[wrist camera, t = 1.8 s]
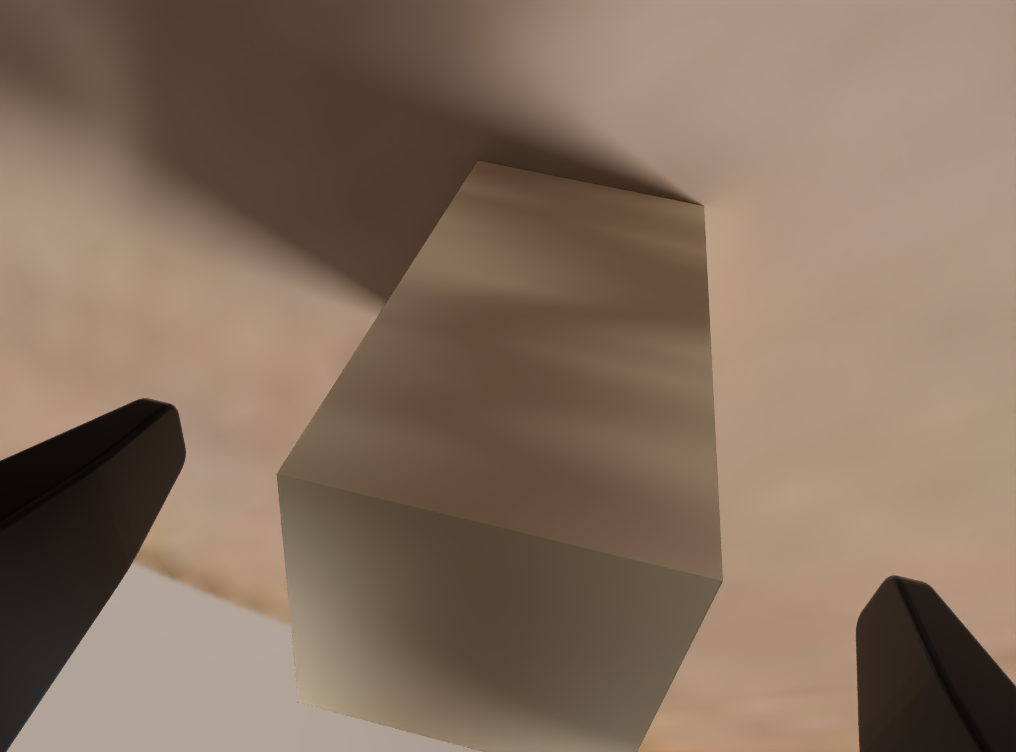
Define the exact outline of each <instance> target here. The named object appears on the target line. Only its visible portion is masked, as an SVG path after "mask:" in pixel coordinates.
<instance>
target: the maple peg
mask: <svg viewBox="0 0 1016 752" xmlns="http://www.w3.org/2000/svg"><path fill="white" fill-rule="evenodd" d="M277 482H278V493H279V503H280V514H281V525H282V536H283V547H284V558H285V569H286V579H287V590H288V601H289V612H290V623H291V634H292V644H293V655H294V666H295V677H296V688H297V699H298V703H301V704H305V705H309V706H313V707H316V708H320V709H324V710H328V711H332V712H335V713H339V714H343V715H347V716H351V717H354V718H358V719H362V720H366V721H370V722H373V723H377V724H381V725H385V726H389V727H392V728H396V729H400V730H403V731H407V732H411V733H415V734H418V735H422V736H426V737H430V738H434V739H437V740H441V741H445V742H449V743H453V744H456V745H460V746H464V747H468V748H471V749H476V750H479V751H483V752H637V751H638V749H639V747H640V745H641V743H642V741H643V739H644V737H645V735H646V733H647V731H648V729H649V727H650V725H651V723H652V721H653V719H654V717H655V715H656V713H657V711H658V709H659V707H660V705H661V703H662V701H663V699H664V697H665V695H666V693H667V691H668V689H669V687H670V685H671V683H672V681H673V679H674V677H675V675H676V673H677V671H678V669H679V667H680V665H681V663H682V661H683V659H684V657H685V655H686V653H687V651H688V649H689V647H690V645H691V643H692V641H693V639H694V637H695V635H696V633H697V631H698V629H699V627H700V625H701V623H702V621H703V619H704V617H705V615H706V614H707V612H708V610H709V608H710V606H711V604H712V602H713V600H714V598H715V596H716V594H717V592H718V590H719V588H720V586H721V584H722V582H723V575H722V555H721V535H720V515H719V495H718V475H717V455H716V435H715V415H714V396H713V376H712V356H711V336H710V316H709V296H708V276H707V256H706V236H705V216H704V206H701V205H696V204H692V203H687V202H682V201H677V200H672V199H667V198H662V197H657V196H652V195H647V194H642V193H637V192H632V191H627V190H622V189H617V188H612V187H607V186H602V185H597V184H592V183H587V182H583V181H578V180H573V179H568V178H563V177H558V176H553V175H548V174H543V173H538V172H533V171H528V170H523V169H518V168H513V167H508V166H503V165H498V164H493V163H488V162H483V161H479V160H478V161H477V163H476V164H475V166H474V167H473V169H472V170H471V172H470V174H469V175H468V177H467V178H466V180H465V181H464V183H463V184H462V186H461V188H460V189H459V191H458V192H457V194H456V195H455V197H454V198H453V200H452V202H451V203H450V205H449V206H448V208H447V209H446V211H445V212H444V214H443V216H442V217H441V219H440V220H439V222H438V223H437V225H436V226H435V228H434V230H433V231H432V233H431V234H430V236H429V237H428V239H427V241H426V242H425V244H424V245H423V247H422V248H421V250H420V251H419V253H418V255H417V256H416V258H415V259H414V261H413V262H412V264H411V265H410V267H409V269H408V270H407V272H406V273H405V275H404V276H403V278H402V279H401V281H400V283H399V284H398V286H397V287H396V289H395V290H394V292H393V293H392V295H391V297H390V298H389V300H388V301H387V303H386V304H385V306H384V308H383V309H382V311H381V312H380V314H379V315H378V317H377V318H376V320H375V322H374V323H373V325H372V326H371V328H370V329H369V331H368V332H367V334H366V336H365V337H364V339H363V340H362V342H361V343H360V345H359V346H358V348H357V350H356V351H355V353H354V354H353V356H352V357H351V359H350V360H349V362H348V364H347V365H346V367H345V368H344V370H343V371H342V373H341V375H340V376H339V378H338V379H337V381H336V382H335V384H334V385H333V387H332V389H331V390H330V392H329V393H328V395H327V396H326V398H325V399H324V401H323V403H322V404H321V406H320V407H319V409H318V410H317V412H316V413H315V415H314V417H313V418H312V420H311V421H310V423H309V424H308V426H307V427H306V429H305V431H304V432H303V434H302V435H301V437H300V438H299V440H298V441H297V443H296V445H295V446H294V448H293V449H292V451H291V452H290V454H289V456H288V457H287V459H286V460H285V462H284V463H283V465H282V466H281V468H280V470H279V471H278V473H277Z"/></svg>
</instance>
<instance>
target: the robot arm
mask: <svg viewBox="0 0 1016 752" xmlns="http://www.w3.org/2000/svg"><path fill="white" fill-rule="evenodd" d="M185 457H186V448H185V443H184V438H183V433H182V428H181V423H180V418H179V413H178V410H177V409H176V407H175V406H174V405H172V404H170V403H165V402H161V401H157V400H153V399H148V398H143V399H139V400H136V401H134V402H131V403H129V404H127V405H125V406H122V407H120V408H118V409H116V410H113V411H111V412H109V413H107V414H104V415H102V416H100V417H98V418H95V419H93V420H91V421H89V422H86V423H84V424H82V425H80V426H77V427H75V428H73V429H71V430H68V431H66V432H64V433H62V434H59V435H57V436H55V437H53V438H51V439H48V440H46V441H44V442H42V443H39V444H37V445H35V446H33V447H30V448H28V449H26V450H24V451H21V452H19V453H17V454H15V455H12V456H10V457H8V458H6V459H3V460H1V461H0V752H6V751H7V750H8V748H9V747H10V746H11V744H12V743H13V741H14V739H15V738H16V737H17V735H18V734H19V732H20V731H21V729H22V728H23V726H24V725H25V723H26V722H27V720H28V719H29V717H30V716H31V714H32V713H33V711H34V710H35V708H36V707H37V705H38V704H39V702H40V701H41V699H42V698H43V696H44V695H45V693H46V692H47V691H48V689H49V688H50V686H51V684H52V683H53V682H54V680H55V679H56V677H57V676H58V674H59V673H60V671H61V670H62V668H63V666H64V665H65V664H66V662H67V661H68V659H69V658H70V656H71V655H72V653H73V652H74V650H75V649H76V647H77V646H78V644H79V643H80V641H81V640H82V638H83V637H84V635H85V634H86V633H87V631H88V630H89V628H90V627H91V625H92V623H93V622H94V621H95V619H96V618H97V616H98V615H99V613H100V612H101V610H102V609H103V607H104V606H105V604H106V603H107V601H108V600H109V598H110V597H111V595H112V594H113V592H114V591H115V589H116V588H117V586H118V585H119V583H120V582H121V580H122V579H123V577H124V575H125V574H126V572H127V571H128V569H129V568H130V566H131V564H132V562H133V560H134V559H135V557H136V555H137V553H138V552H139V550H140V548H141V546H142V544H143V542H144V540H145V538H146V536H147V534H148V533H149V531H150V529H151V527H152V525H153V523H154V521H155V519H156V517H157V515H158V514H159V512H160V510H161V508H162V506H163V504H164V502H165V500H166V498H167V496H168V494H169V493H170V491H171V489H172V487H173V485H174V483H175V481H176V479H177V477H178V475H179V474H180V472H181V470H182V467H183V465H184V462H185ZM856 654H857V690H858V725H859V748H860V752H1016V686H1015V685H1014V683H1013V682H1012V681H1011V680H1010V679H1009V678H1008V676H1007V675H1006V674H1005V673H1004V672H1003V670H1002V669H1001V668H1000V667H999V666H998V665H997V663H996V662H995V661H994V660H993V659H992V657H991V656H990V655H989V654H988V653H987V652H986V650H985V649H984V648H983V647H982V646H981V645H980V643H979V642H978V641H977V640H976V639H975V637H974V636H973V635H972V634H971V633H970V632H969V630H968V629H967V628H966V627H965V626H964V624H963V623H962V622H961V621H960V620H959V619H958V617H957V616H956V615H955V614H954V613H953V612H952V610H951V609H950V608H949V607H948V606H947V604H946V603H945V602H944V601H943V600H942V599H941V597H940V596H939V595H938V594H937V593H936V591H935V590H934V589H933V588H932V587H931V586H929V585H928V584H926V583H924V582H922V581H918V580H913V579H909V578H905V577H901V576H890V577H888V578H886V579H885V580H884V582H883V583H882V584H881V586H880V587H879V588H878V590H877V591H876V593H875V594H874V595H873V597H872V598H871V599H870V601H869V602H868V604H867V605H866V606H865V608H864V609H863V611H862V612H861V614H860V616H859V618H858V622H857V627H856Z"/></svg>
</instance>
